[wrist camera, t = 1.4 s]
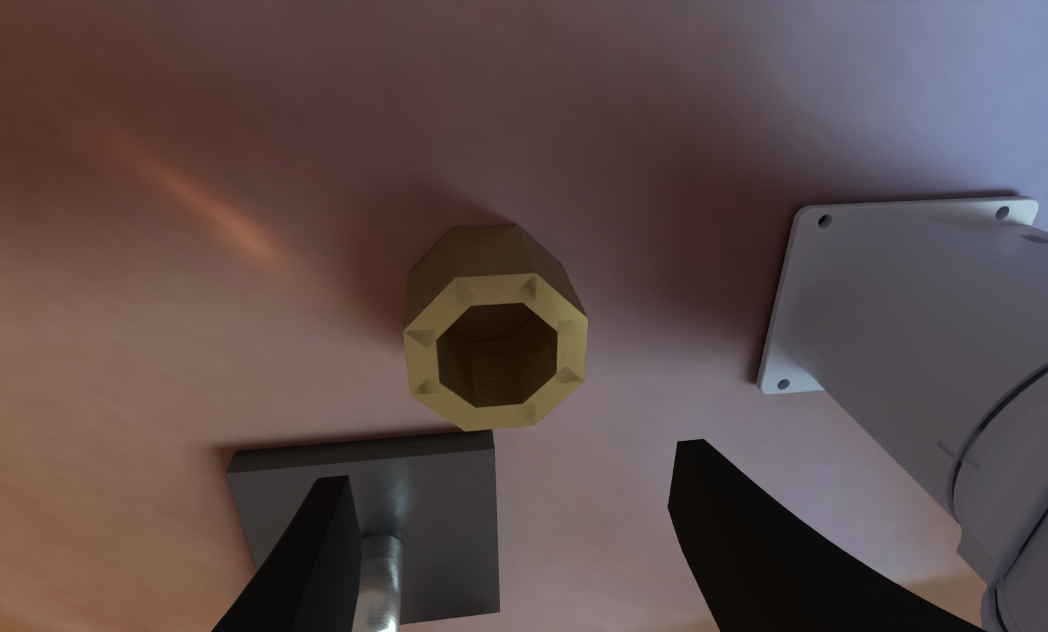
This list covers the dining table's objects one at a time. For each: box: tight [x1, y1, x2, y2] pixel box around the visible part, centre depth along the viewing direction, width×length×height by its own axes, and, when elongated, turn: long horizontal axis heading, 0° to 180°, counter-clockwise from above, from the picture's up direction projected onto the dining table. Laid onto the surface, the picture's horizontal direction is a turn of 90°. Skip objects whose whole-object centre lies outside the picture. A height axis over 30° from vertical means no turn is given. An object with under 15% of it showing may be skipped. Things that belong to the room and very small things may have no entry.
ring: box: [403, 225, 588, 431], centre depth 19 cm, size 5×5×4 cm
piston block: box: [226, 429, 500, 632], centre depth 23 cm, size 10×10×5 cm
